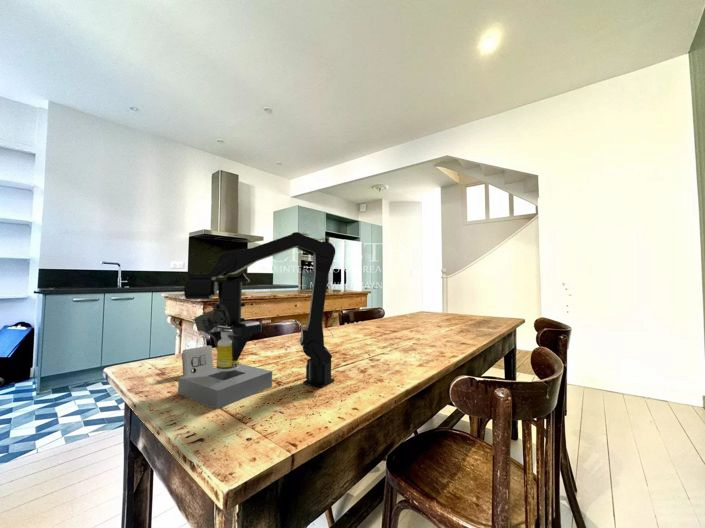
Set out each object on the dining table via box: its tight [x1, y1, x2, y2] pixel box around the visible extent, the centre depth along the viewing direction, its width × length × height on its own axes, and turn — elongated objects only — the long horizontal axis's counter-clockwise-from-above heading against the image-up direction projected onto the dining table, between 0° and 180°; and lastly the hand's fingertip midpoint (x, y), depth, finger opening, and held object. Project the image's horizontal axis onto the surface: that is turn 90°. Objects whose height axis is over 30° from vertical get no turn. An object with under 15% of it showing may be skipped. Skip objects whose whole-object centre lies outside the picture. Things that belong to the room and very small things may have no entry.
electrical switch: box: [181, 345, 215, 377], centre depth 86 cm, size 8×5×8 cm, turn 141°
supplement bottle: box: [216, 330, 240, 372], centre depth 73 cm, size 5×5×10 cm
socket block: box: [177, 363, 273, 410], centre depth 73 cm, size 16×16×4 cm
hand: (228, 359), depth 73 cm, fingers closed on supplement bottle, 5 cm apart
